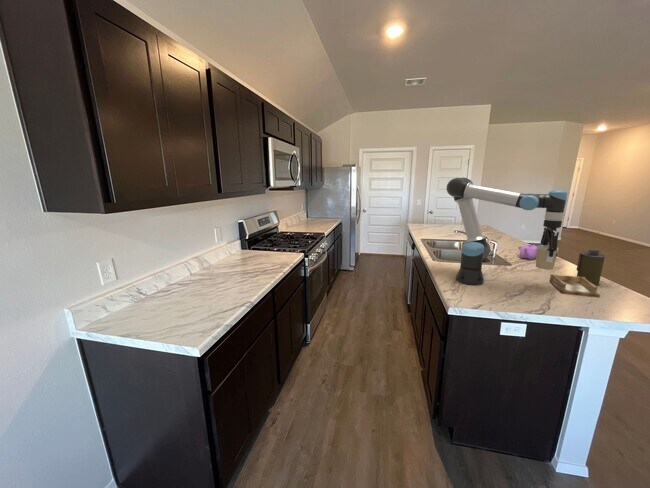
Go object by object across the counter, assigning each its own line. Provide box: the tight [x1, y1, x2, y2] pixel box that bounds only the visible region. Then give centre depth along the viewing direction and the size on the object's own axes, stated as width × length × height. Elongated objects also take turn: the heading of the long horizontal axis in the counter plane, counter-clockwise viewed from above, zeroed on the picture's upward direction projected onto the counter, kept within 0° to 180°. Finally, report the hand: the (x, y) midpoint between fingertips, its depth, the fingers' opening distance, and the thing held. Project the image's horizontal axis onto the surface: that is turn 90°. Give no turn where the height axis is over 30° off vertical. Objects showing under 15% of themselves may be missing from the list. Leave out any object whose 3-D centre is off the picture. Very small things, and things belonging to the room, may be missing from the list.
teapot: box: [517, 244, 538, 261], centre depth 213 cm, size 15×13×11 cm
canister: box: [576, 248, 606, 287], centre depth 162 cm, size 11×10×20 cm
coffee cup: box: [535, 244, 559, 271], centre depth 154 cm, size 9×9×12 cm
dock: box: [548, 274, 601, 298], centre depth 154 cm, size 16×18×5 cm
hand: (545, 259), depth 154 cm, fingers closed on coffee cup, 9 cm apart
